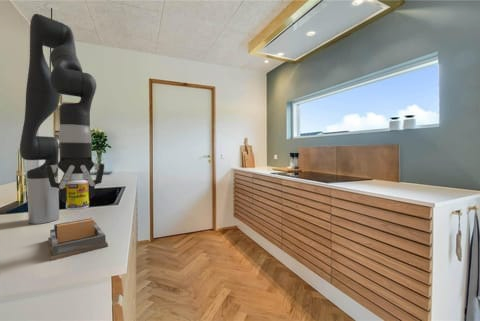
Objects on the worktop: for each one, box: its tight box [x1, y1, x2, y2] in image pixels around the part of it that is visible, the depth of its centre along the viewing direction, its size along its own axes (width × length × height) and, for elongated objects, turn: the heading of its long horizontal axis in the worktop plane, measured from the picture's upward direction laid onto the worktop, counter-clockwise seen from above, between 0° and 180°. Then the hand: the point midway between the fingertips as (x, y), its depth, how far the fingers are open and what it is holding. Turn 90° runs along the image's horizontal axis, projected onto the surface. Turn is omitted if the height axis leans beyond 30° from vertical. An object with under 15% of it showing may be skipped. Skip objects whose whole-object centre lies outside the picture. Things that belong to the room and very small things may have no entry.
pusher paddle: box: [57, 218, 95, 243], centre depth 70 cm, size 1×9×5 cm, turn 131°
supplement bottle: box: [65, 173, 90, 211], centre depth 66 cm, size 6×6×10 cm
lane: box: [48, 217, 109, 261], centre depth 69 cm, size 17×13×5 cm
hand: (77, 199), depth 66 cm, fingers closed on supplement bottle, 5 cm apart
